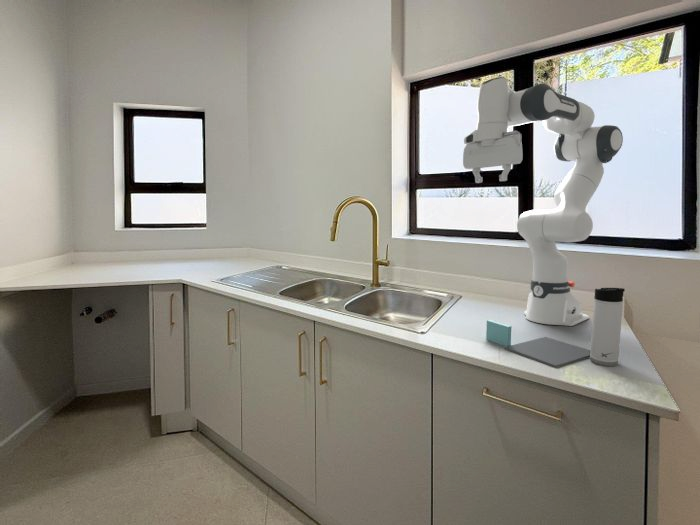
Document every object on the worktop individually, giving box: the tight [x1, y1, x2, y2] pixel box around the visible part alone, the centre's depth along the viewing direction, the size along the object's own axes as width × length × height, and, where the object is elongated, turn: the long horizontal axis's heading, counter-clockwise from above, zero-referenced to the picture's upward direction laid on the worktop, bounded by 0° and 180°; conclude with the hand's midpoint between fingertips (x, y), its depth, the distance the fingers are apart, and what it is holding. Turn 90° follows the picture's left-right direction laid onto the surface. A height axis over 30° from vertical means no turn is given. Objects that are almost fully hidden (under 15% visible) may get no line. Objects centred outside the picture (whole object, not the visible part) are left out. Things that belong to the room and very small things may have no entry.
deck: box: [485, 319, 512, 347], centre depth 123 cm, size 1×8×6 cm, turn 29°
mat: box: [504, 336, 591, 369], centre depth 115 cm, size 18×16×1 cm
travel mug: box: [589, 287, 625, 367], centre depth 106 cm, size 6×7×20 cm
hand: (490, 181), depth 125 cm, fingers open, 8 cm apart
